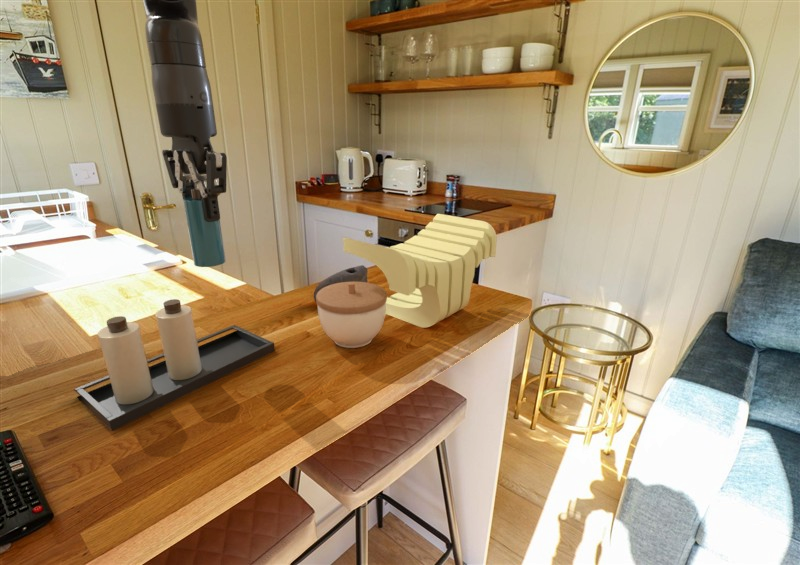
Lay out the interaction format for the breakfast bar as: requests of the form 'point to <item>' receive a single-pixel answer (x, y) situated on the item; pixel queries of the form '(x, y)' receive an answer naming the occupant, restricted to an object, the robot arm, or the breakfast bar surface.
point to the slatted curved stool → (431, 267)
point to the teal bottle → (203, 233)
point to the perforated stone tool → (344, 278)
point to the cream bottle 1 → (125, 360)
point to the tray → (215, 364)
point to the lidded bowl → (351, 312)
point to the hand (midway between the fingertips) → (203, 218)
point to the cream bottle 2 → (178, 340)
